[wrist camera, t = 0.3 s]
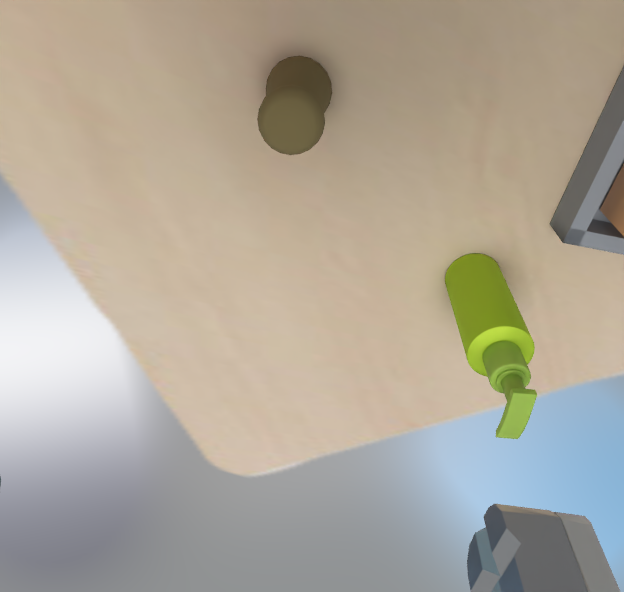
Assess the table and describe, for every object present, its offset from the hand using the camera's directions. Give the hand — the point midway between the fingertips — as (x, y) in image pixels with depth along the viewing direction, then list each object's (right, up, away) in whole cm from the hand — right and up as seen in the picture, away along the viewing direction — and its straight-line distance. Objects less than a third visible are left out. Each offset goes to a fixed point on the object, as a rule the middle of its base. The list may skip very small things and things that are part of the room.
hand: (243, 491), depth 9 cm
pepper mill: (0, +22, +42) cm, 48 cm away
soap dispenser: (+19, +5, +53) cm, 56 cm away
